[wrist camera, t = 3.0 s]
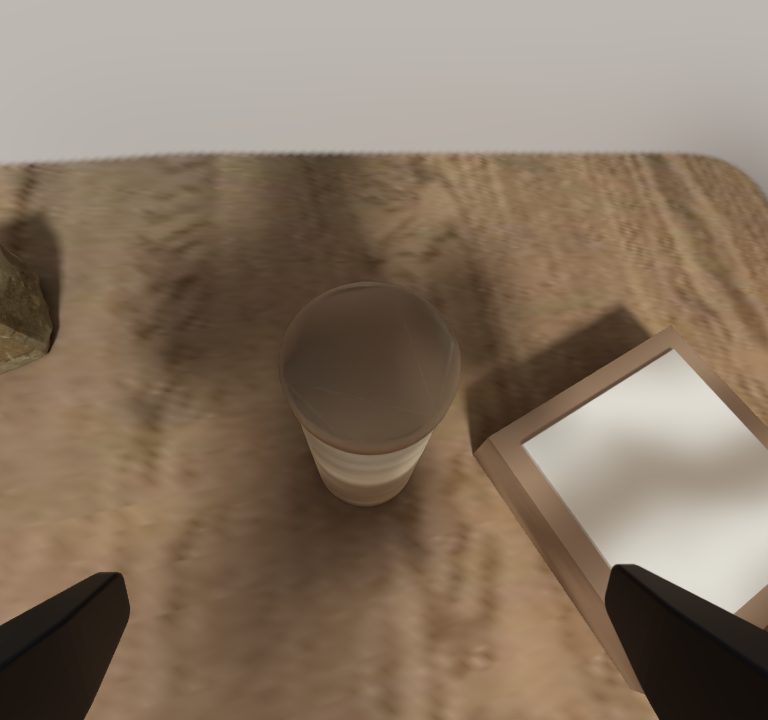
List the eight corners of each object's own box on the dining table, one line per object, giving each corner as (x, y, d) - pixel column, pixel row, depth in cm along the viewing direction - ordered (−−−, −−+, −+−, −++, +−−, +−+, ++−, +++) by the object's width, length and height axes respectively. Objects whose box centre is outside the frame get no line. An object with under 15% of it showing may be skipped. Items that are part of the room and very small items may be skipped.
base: (804, 539, 22) (872, 533, 19) (631, 689, 19) (680, 708, 16) (637, 352, 25) (673, 323, 22) (472, 454, 23) (489, 435, 20)
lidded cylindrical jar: (435, 474, 22) (497, 388, 12) (346, 529, 21) (333, 484, 11) (383, 392, 24) (400, 256, 14) (297, 438, 23) (248, 327, 13)
